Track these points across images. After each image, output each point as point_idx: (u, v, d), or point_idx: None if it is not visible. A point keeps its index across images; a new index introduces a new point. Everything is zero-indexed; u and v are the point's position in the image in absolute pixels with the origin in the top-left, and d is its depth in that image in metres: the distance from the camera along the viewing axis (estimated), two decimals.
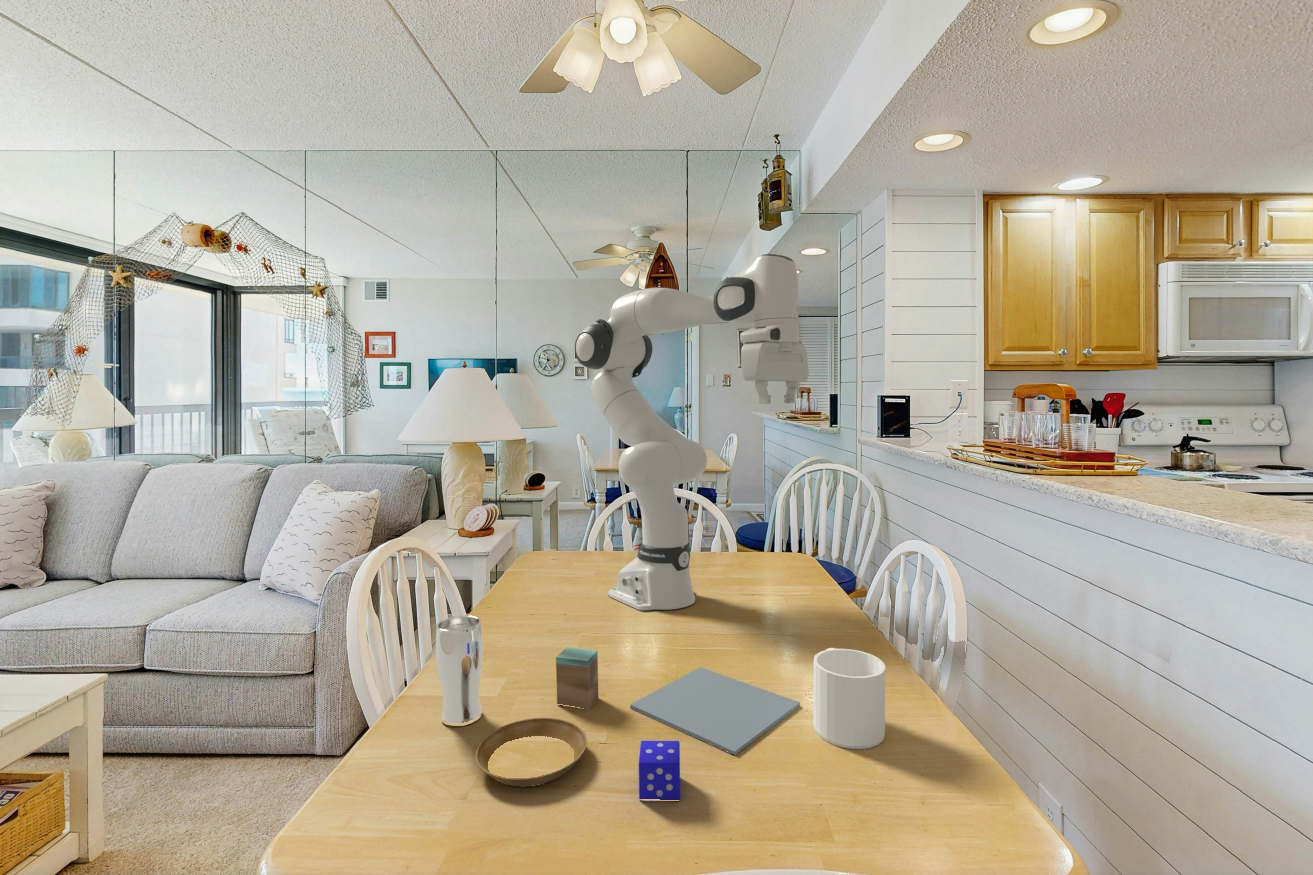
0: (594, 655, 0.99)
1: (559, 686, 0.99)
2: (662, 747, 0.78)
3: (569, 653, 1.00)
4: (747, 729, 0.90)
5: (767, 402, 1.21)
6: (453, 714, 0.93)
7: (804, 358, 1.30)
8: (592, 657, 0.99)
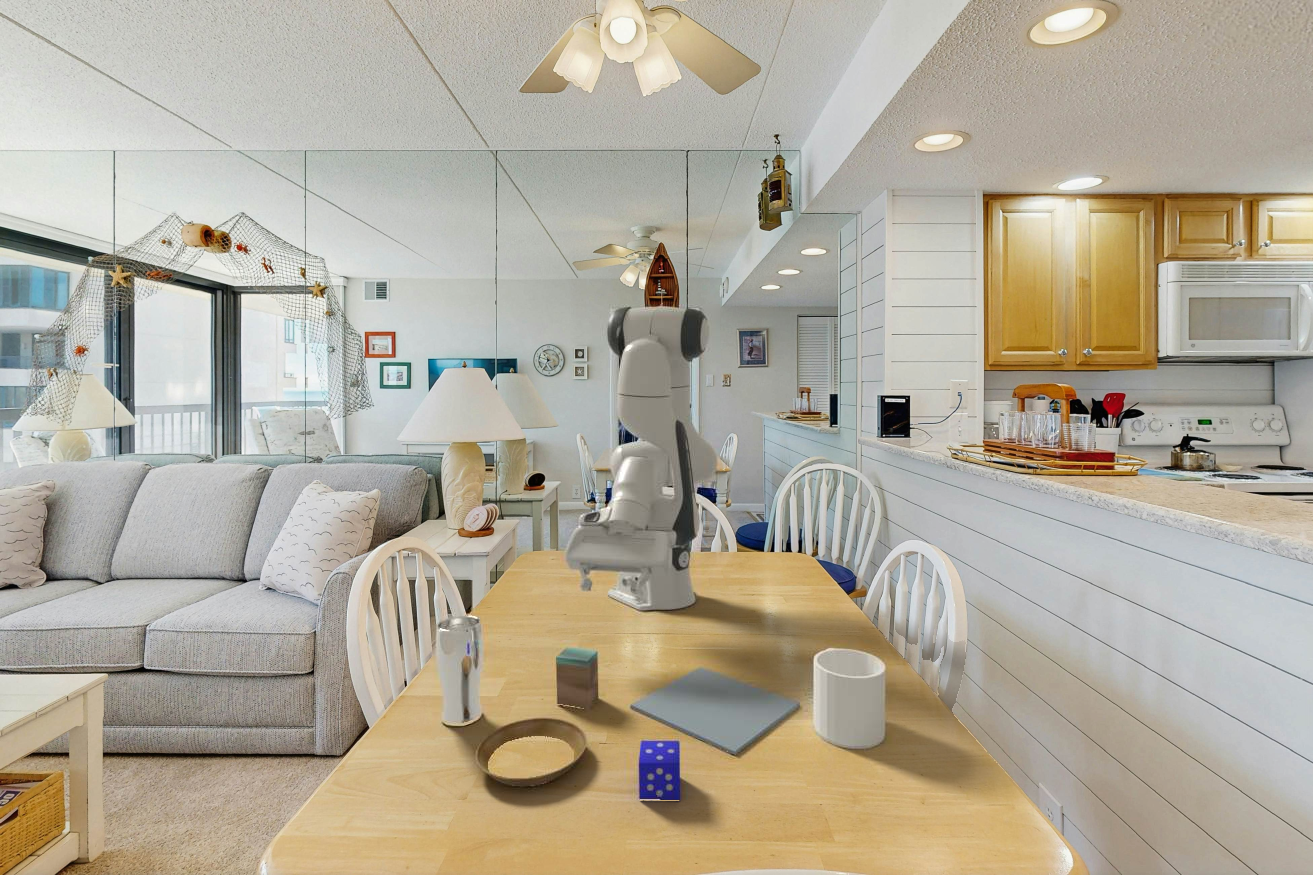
0: (594, 655, 0.99)
1: (559, 686, 0.99)
2: (662, 747, 0.78)
3: (569, 653, 1.00)
4: (747, 729, 0.90)
5: (582, 585, 1.11)
6: (453, 714, 0.93)
7: (660, 542, 1.12)
8: (592, 657, 0.99)
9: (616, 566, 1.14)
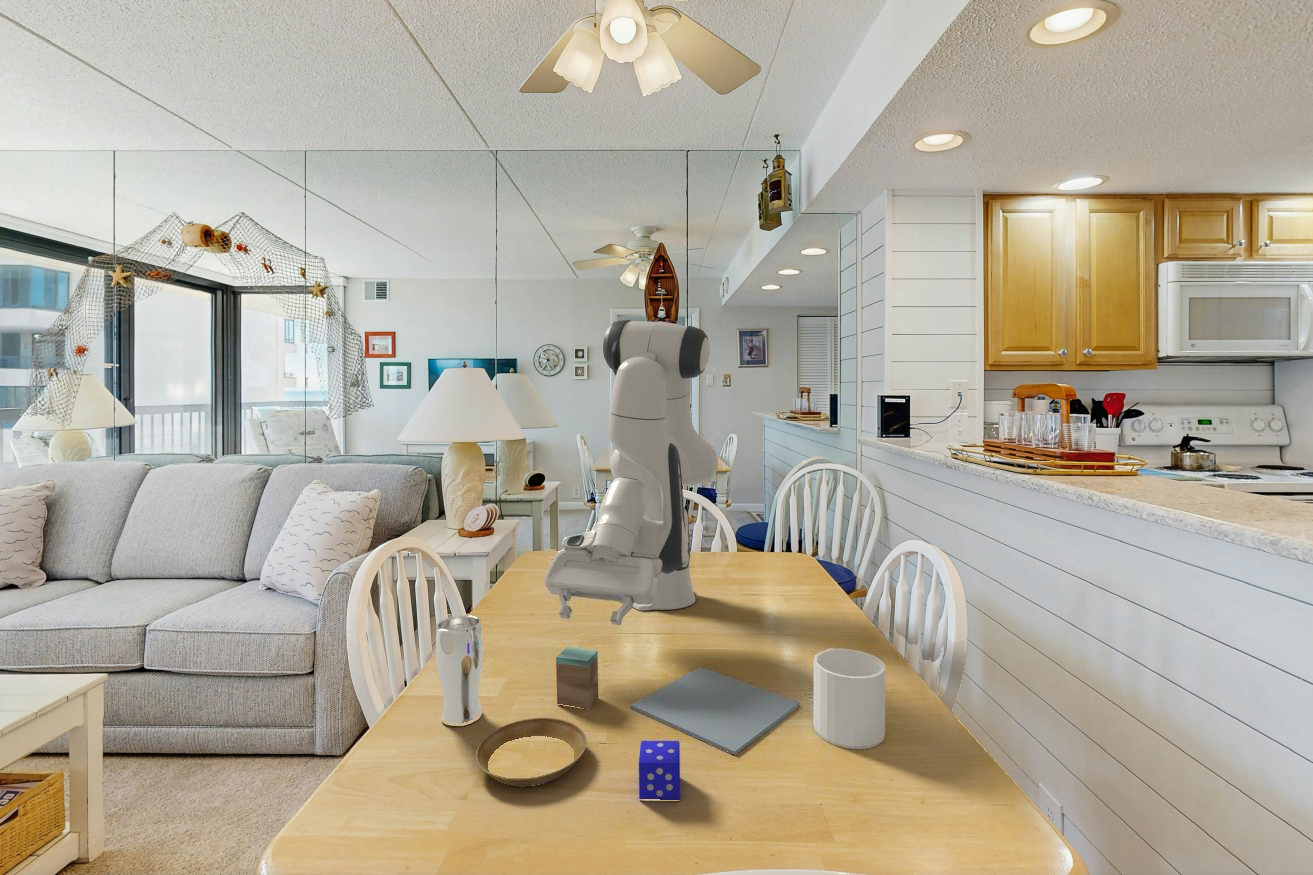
0: (594, 655, 0.99)
1: (559, 686, 0.99)
2: (662, 747, 0.78)
3: (569, 653, 1.00)
4: (747, 729, 0.90)
5: (561, 612, 1.06)
6: (453, 714, 0.93)
7: (644, 570, 1.07)
8: (592, 657, 0.99)
9: (598, 593, 1.09)
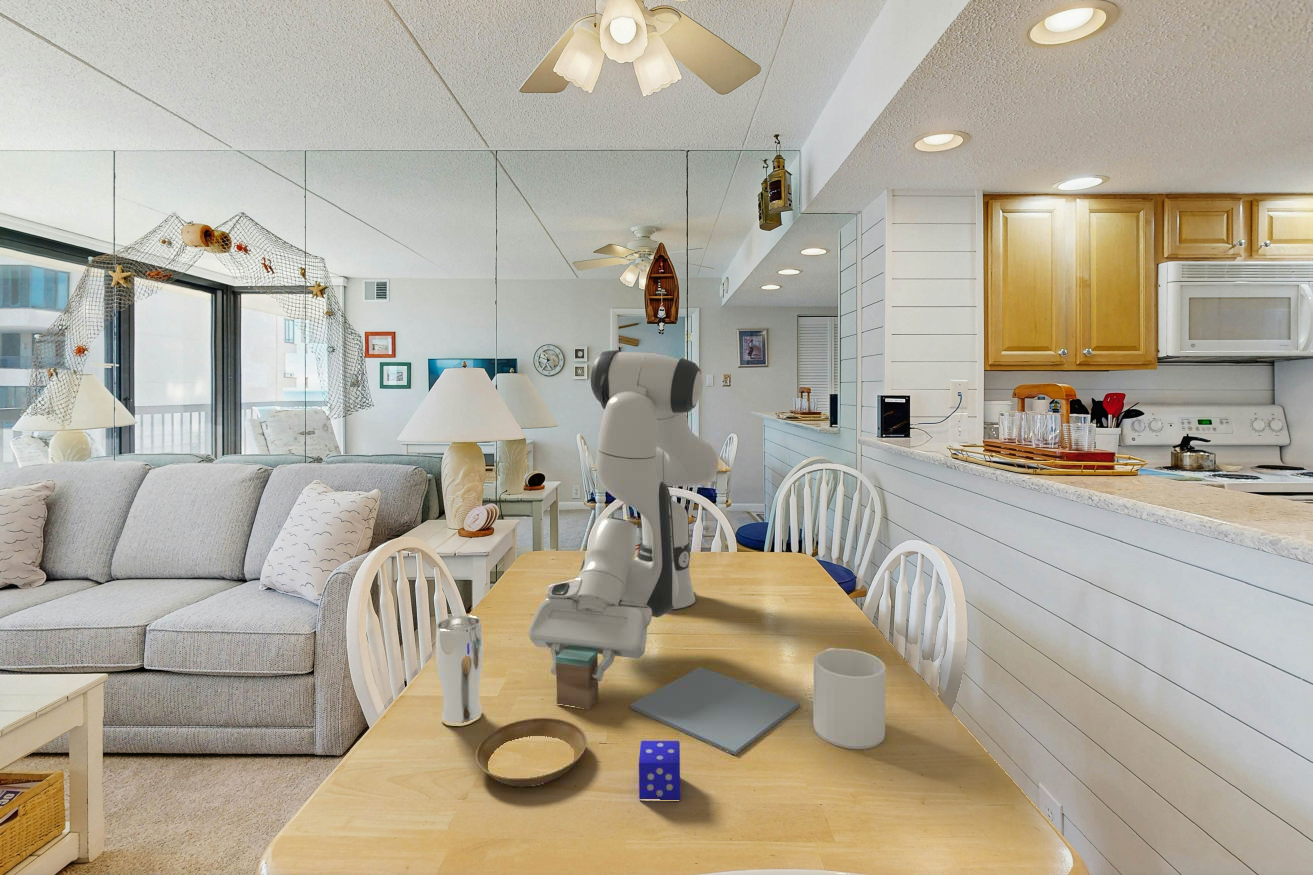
0: (594, 655, 0.99)
1: (559, 685, 0.99)
2: (662, 747, 0.78)
3: (569, 652, 1.00)
4: (747, 729, 0.90)
5: (553, 670, 1.00)
6: (453, 714, 0.93)
7: (633, 622, 1.01)
8: (592, 657, 0.99)
9: (585, 646, 1.03)
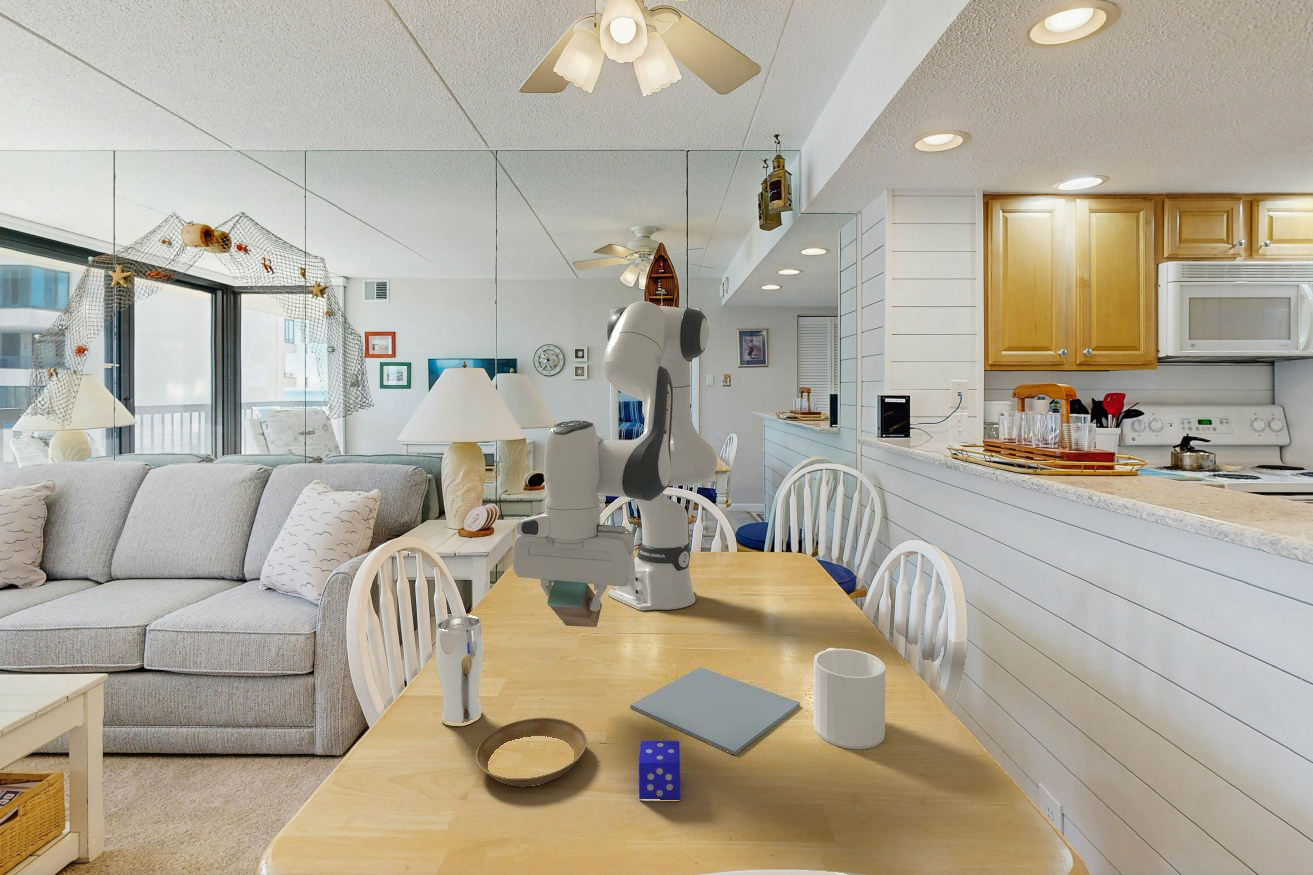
0: (584, 588, 0.97)
1: (561, 616, 1.00)
2: (662, 747, 0.78)
3: (559, 592, 0.97)
4: (747, 729, 0.90)
5: None
6: (453, 714, 0.93)
7: (616, 557, 0.94)
8: (582, 593, 0.96)
9: None
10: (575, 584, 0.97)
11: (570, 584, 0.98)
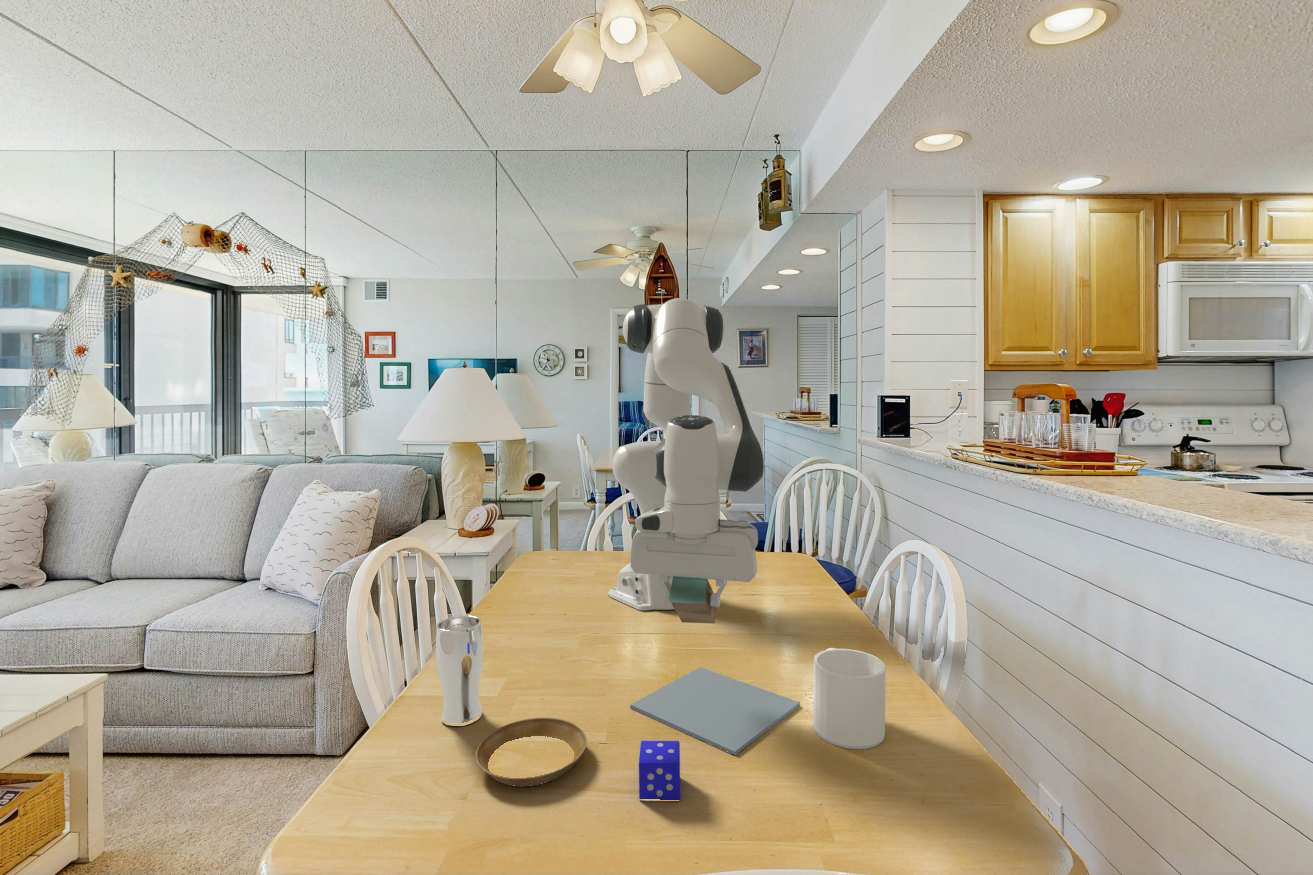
0: (705, 584, 0.96)
1: (680, 613, 0.99)
2: (662, 747, 0.78)
3: (680, 588, 0.96)
4: (747, 729, 0.90)
5: (668, 601, 0.99)
6: (453, 714, 0.93)
7: (741, 552, 0.94)
8: (705, 589, 0.95)
9: None
10: (696, 580, 0.97)
11: (691, 580, 0.97)
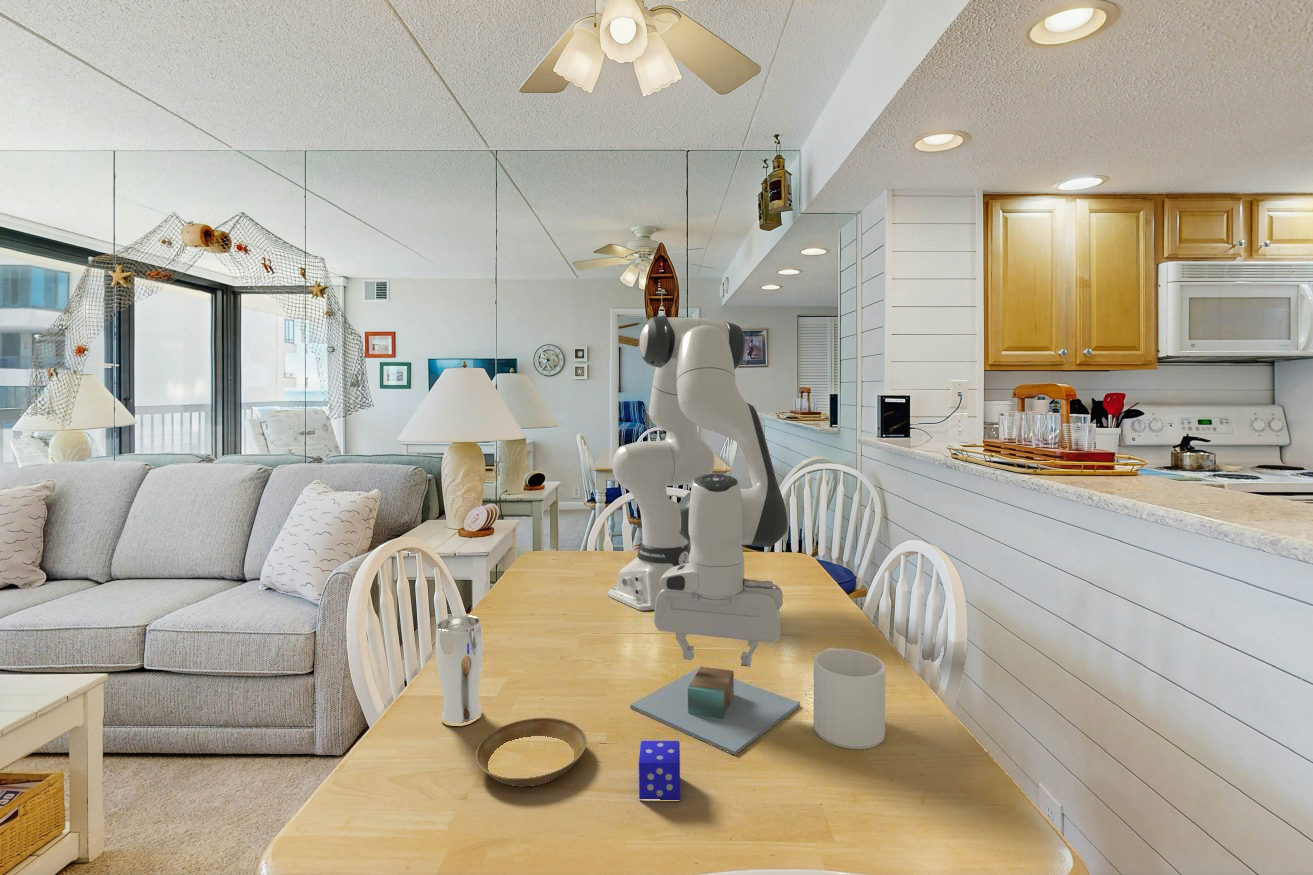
0: (723, 700, 0.93)
1: None
2: (662, 747, 0.78)
3: (697, 702, 0.94)
4: (747, 729, 0.90)
5: (685, 658, 1.00)
6: (453, 714, 0.93)
7: (766, 613, 0.94)
8: (723, 705, 0.93)
9: None
10: (712, 695, 0.93)
11: (707, 695, 0.93)
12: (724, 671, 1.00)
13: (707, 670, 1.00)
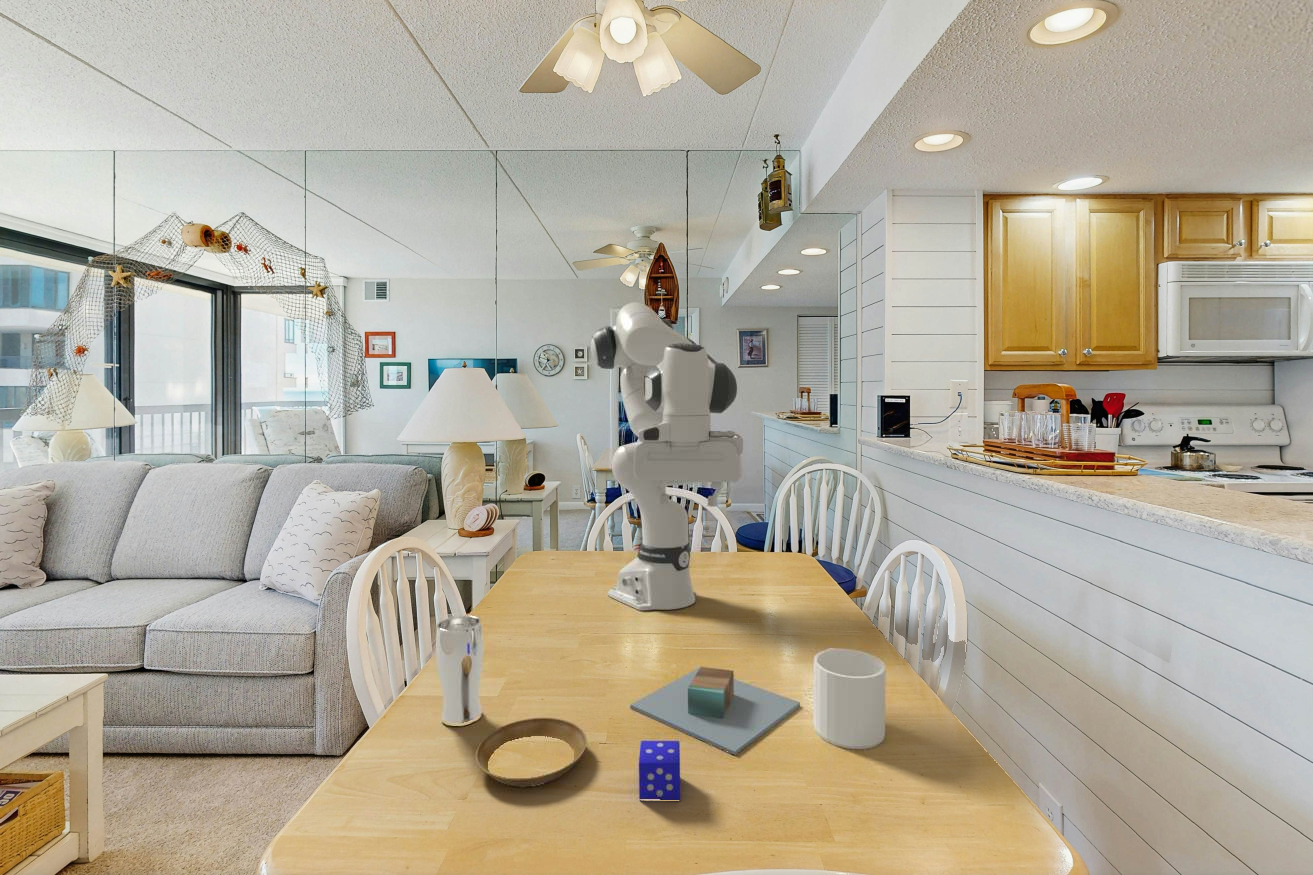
0: (723, 700, 0.93)
1: None
2: (662, 747, 0.78)
3: (697, 702, 0.94)
4: (747, 729, 0.90)
5: (660, 503, 1.15)
6: (453, 714, 0.93)
7: (728, 456, 1.10)
8: (723, 705, 0.93)
9: None
10: (712, 695, 0.93)
11: (707, 695, 0.93)
12: (724, 671, 1.00)
13: (707, 670, 1.00)
